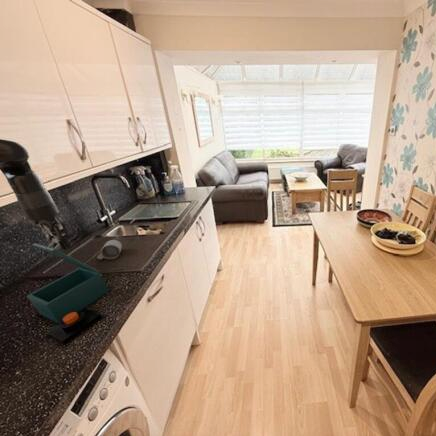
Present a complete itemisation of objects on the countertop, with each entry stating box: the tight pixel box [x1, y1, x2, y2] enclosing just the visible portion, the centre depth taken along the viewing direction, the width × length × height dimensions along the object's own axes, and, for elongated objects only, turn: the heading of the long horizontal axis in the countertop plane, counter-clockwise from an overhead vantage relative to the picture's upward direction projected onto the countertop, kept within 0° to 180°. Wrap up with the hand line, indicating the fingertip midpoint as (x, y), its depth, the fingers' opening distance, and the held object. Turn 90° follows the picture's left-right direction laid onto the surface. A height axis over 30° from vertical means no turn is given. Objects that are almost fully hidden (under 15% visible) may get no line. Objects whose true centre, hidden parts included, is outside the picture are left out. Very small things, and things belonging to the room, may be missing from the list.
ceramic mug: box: [97, 239, 123, 261], centre depth 118 cm, size 11×8×8 cm
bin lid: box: [32, 237, 101, 274], centre depth 88 cm, size 18×13×5 cm
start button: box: [63, 312, 79, 324], centre depth 78 cm, size 4×4×2 cm
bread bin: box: [26, 267, 110, 324], centre depth 89 cm, size 17×13×9 cm
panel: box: [46, 307, 102, 345], centre depth 79 cm, size 11×9×4 cm
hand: (62, 247), depth 85 cm, fingers closed on bin lid, 5 cm apart
